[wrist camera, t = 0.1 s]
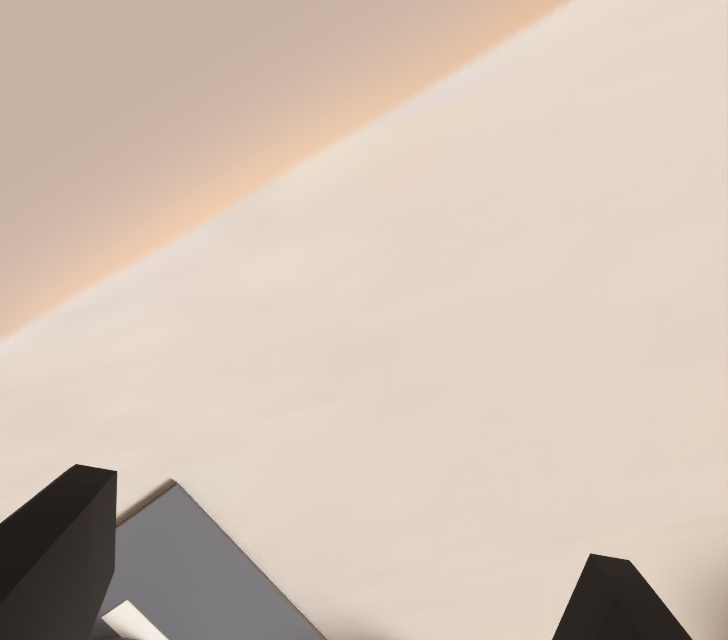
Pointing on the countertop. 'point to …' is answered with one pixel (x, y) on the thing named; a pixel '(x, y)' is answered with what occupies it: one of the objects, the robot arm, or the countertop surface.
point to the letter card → (190, 582)
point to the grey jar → (115, 638)
